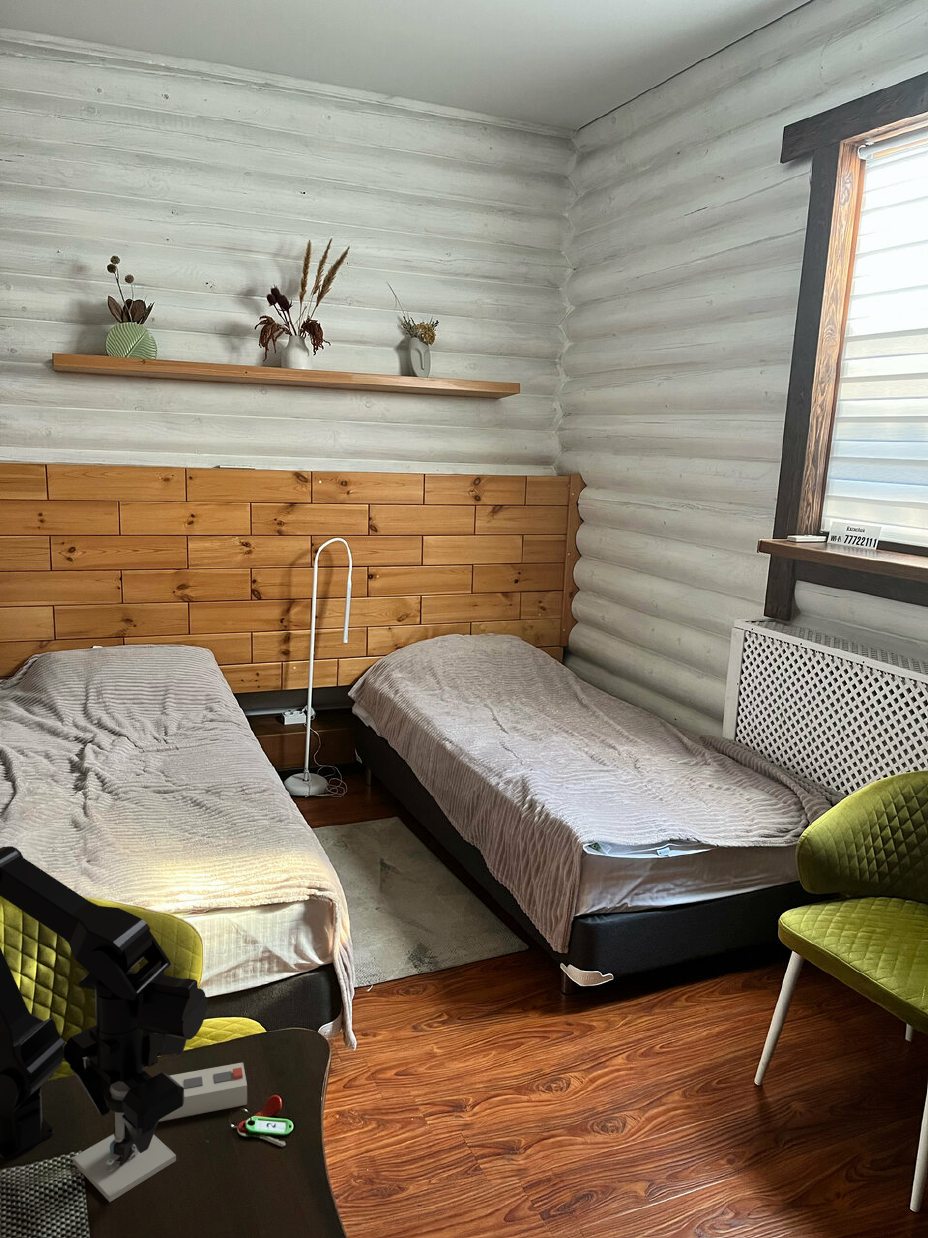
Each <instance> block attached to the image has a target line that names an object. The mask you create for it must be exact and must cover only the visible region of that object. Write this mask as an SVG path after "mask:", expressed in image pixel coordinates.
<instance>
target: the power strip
mask: <svg viewBox="0 0 928 1238" xmlns="http://www.w3.org/2000/svg"><path fill="white" fill-rule="evenodd" d="M244 1065H245V1064H244V1062H238V1063H231V1064H227V1065H221V1066H215V1067H209V1068H204V1069H199V1070H195V1071H194V1070H193V1071H187V1072H182V1073H177V1074H171V1075H169V1076H170V1077H171V1078H173V1079H174V1080H175V1081H176V1082H177V1083H179V1084H180V1085H181V1086H182V1087H183V1088H184V1104H183V1106H182V1107H180V1108H179V1109H177V1110H175V1111H173V1112H172V1113H170V1114H168V1115H166V1116H165V1117H163V1118H161V1119H160V1120H159V1122H164V1121H170V1120H175V1119H180V1118H185V1117H190V1116H195V1115H201V1114H205V1113H210V1112H216V1111H221V1110H226V1109H232V1108H237V1107H241V1106H246V1105H247V1106H248V1083H247V1077H246V1073H245V1072H246V1071H245V1066H244ZM159 1122H158V1123H159Z"/></svg>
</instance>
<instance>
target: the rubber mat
mask: <svg viewBox="0 0 928 1238" xmlns="http://www.w3.org/2000/svg"><path fill="white" fill-rule="evenodd" d="M114 1139H115V1137H114V1133H113V1134H111V1135H109V1136H107V1137H106V1138H104V1139H102V1140H101V1141H99V1142H97V1143H95V1144H93V1145H91V1146H90V1147H89V1148H87V1149H85V1150H84V1151H82V1152H79V1153H77V1154H76V1155H74V1156H72V1163H73V1164H74V1166H75V1167H76V1168H77V1169H78V1170H79V1171H80V1172H81V1173H82V1174H83V1175H84V1176H85V1177H86V1178H87V1180H88V1181H89V1182H90V1183H91V1184H93V1186H94V1187H95V1188H96V1189H97V1191H99V1192H100V1193H101V1195H102V1196H103V1197H104V1198H105V1199H106V1200H107V1201H108V1203H111V1202H112V1201H114V1200H115V1199H117V1198H119V1197H121V1196H122V1195H123V1194H125V1193H127V1192H128V1191H130V1190H133V1188H135V1187H136V1186H138V1185H139V1184H141V1183H143V1182H144V1181H146V1180H148V1179H149V1178H151V1177H153V1176H154V1175H156V1174H157V1173H158V1172H160V1171H162V1170H164V1169H165V1168H167V1167H168V1166H170V1165H171V1164H173V1163H175V1162H176V1161H177V1155H176V1153H174V1152H173V1151H172V1150H171V1149H170V1148H169V1147H168V1145H165V1143H163V1142H162V1141H161V1140H160V1139H159V1138H158V1137H157V1136H156V1135H155V1134H154V1135H153V1137H152V1140H151V1142H150V1145H149V1148H148V1149H147V1150H146V1151H144V1152H142V1153H140V1152H138V1154H137V1155H136V1156H135V1155H134V1153H133V1154H132V1155H131V1156H130V1158H129V1159H128V1160H127V1161H126V1162H125V1163H124V1165H120V1164H118V1166H115V1168H114V1169H113V1170H112V1171H111V1172H109V1171H106V1168H107V1167H108V1166H109V1165H107V1164H106V1162H107V1161H108V1160H109V1158H110V1144H111V1142H112V1141H114ZM137 1151H138V1149H137V1150H136V1152H137ZM109 1162H110V1161H109ZM111 1168H112V1167H109V1169H111Z"/></svg>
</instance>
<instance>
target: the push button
mask: <svg viewBox="0 0 928 1238" xmlns="http://www.w3.org/2000/svg"><path fill="white" fill-rule="evenodd" d="M129 1090H130V1088H129V1087H128V1086H127V1085H126V1084H125V1083H124V1082H120V1081H117V1082H115V1083H113V1084H111V1085H110V1084H108V1085H107V1086H106V1088H105V1090H104V1099H105V1101H106V1105H107V1108H109V1109H110V1111H112V1112H114V1129H113V1134H114V1137H115V1139H114V1141H112V1142H111V1144H110V1158H109V1160H108V1161H107V1162H106V1164H107V1165H109V1166H108V1167H107V1168H106V1171H109V1172H111V1171H112V1170H113V1169H114V1168H115V1166H118V1164H120V1165H124V1163H125V1162H126V1161H127V1160H128V1159H129V1158H130V1156H131V1155H132V1154H133V1153H134V1155H135V1156H136V1155H137V1154H138V1152H139V1151H137V1152H136V1150H137V1147H136V1146H135V1144H134V1141H133V1139H132V1137H131V1135H130V1133H129V1130H128V1128H127V1126H126V1124H125V1122H124V1120H123V1118H122V1115H124V1111H123V1109H122V1100H123V1099H124V1097H125V1096H126V1094H127V1092H128V1091H129ZM109 1161H110V1162H109ZM109 1167H112V1168H111V1169H109Z"/></svg>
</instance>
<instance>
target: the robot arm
mask: <svg viewBox="0 0 928 1238" xmlns="http://www.w3.org/2000/svg"><path fill="white" fill-rule="evenodd" d="M0 898H3V899H4V900H6V901H7V902H9V903H10V904H12V905H13V906H14V907H16V908H17V909H19V910H21V911H22V912H23V913H25V914H26V915H28V916H29V917H31V918H32V919H34V920H35V921H37V922H38V923H40V924H41V925H43V926H44V927H46V928H48V929H49V930H50V931H52V932H53V933H55V934H56V935H57V936H59V937H61V938H62V939H63V940H64V941H65V942H66V943H68V946H69V947H70V951H71V952H72V955H73V958H74V960H75V962H77V963H78V964H79V965H80V966H81V967H82V968H83V969H85V970H86V971H87V972H88V973H87V974H86V975H85V976H84V977H83V978H81V979H80V980H79V981H78V987H79V988H83V989H89V990H93V991H94V999H95V1002H94V1003H95V1025H94V1026H92V1027H89V1028H87V1029H85V1030H82V1031H80V1032H77V1034H73V1035H72V1036H70V1037H69V1039H68V1040H67V1042H65V1041H64V1039H63V1038H62V1037H61V1035H60V1034H59V1032H58V1028H57V1024H56V1022H55V1020H54V1019H53V1018H52V1017H51V1018H46V1019H45V1020H43V1019H42V1018H39V1017H38V1016H37V1015H34V1014H33V1013H31V1012H30V1010H29V1008H28V1006H27V1003H26V1002H25V1001H26V1000H24V997H23V995H22V993H21V991H20V988H19V986H18V984H17V982H16V979H15V977H14V974H13V973H12V970H11V968H10V966H9V963H8V961H7V959H6V956H5V955H4V952H3V949H2V947H1V946H0V1157H1V1159H2V1160H4V1161H5V1160H8V1159H10V1158H12V1157H14V1156H16V1155H18V1154H20V1153H21V1152H23V1151H25V1150H27V1149H29V1148H31V1147H32V1146H34V1145H35V1146H36V1144H38V1143H40V1142H42V1141H43V1140H46V1139H47V1138H49V1137H50V1136H53V1135H54V1133H55V1129H54V1128H53V1126H52V1125H50V1124H49V1123H48V1122H47V1121H46V1120H45V1118H44V1117H43V1105H42V1102H43V1101H42V1086H43V1085H44V1084H45V1083H46V1082H47V1081H48V1080H50V1079H52V1077H54V1075H55V1072H56V1071H57V1070H58V1069H59V1068H61V1066H62V1064H63V1061H66V1063H68V1064H69V1069H70V1070H71V1071H72V1072H73V1074H74V1075H75V1077H76V1078H77V1080H78V1081H79V1083H80V1084H81V1085H82V1088H83V1089H84V1090H85V1092H86V1094H87V1095H88V1097H89V1099H90V1101H92V1103H93V1105H94V1107H95V1108H96V1110H97V1112H98V1113H99V1115H101V1117H104V1116H106V1115H107V1114H109V1113H110V1112H111V1110H110V1109H109V1108H107V1105H106V1101H105V1099H104V1090H105V1088H106V1086H107V1085H108V1084H110V1085H111V1084H113V1083H115V1082H117V1081H120V1082H124V1083H125V1084H126V1085H127V1086H128V1087H129V1088H130V1090H129V1091H128V1092H127V1094H126V1096H125V1097H124V1099H123V1100H122V1109H123V1111H124V1115H122V1118H123V1120H124V1122H125V1124H126V1126H127V1128H128V1130H129V1133H130V1135H131V1137H132V1139H133V1141H134V1144H135V1146H136V1147H137V1149H138V1151H139V1152H140V1153H142V1152H144V1151H146V1150H147V1149H148V1148H149V1145H150V1142H151V1140H152V1137H153V1135H155V1132H156V1129H157V1127H158V1124H159V1120H160V1119H161V1118H163V1117H165V1116H166V1115H168V1114H170V1113H172V1112H173V1111H175V1110H177V1109H179V1108H180V1107H182V1106H183V1104H184V1088H183V1087H182V1086H181V1085H180V1084H179V1083H177V1082H176V1081H175V1080H174V1079H173V1078H171V1077H170V1075H169V1074H167V1073H165V1072H160V1073H158V1074H156V1075H153V1076H151V1075H150V1074H149V1073H148V1072H146V1071H145V1067H146V1068H147V1067H148V1068H151V1067H153V1066H154V1065H157V1064H158V1061H159V1059H158V1057H165V1056H171V1055H176V1056H180V1055H183V1054H184V1051H185V1047H186V1044H187V1040H189V1041H190V1040H193V1038H195V1037H196V1035H198V1033H199V1031H200V1030H201V1028H202V1026H203V1023H204V1021H205V1018H206V1013H207V1009H208V997H207V996H206V992H205V991H204V989H202V988H199V987H198V984H199V983H198V981H197V980H196V979H193V978H187V977H186V978H180V977H174V976H170V975H165V972H166V971H167V970H168V969H169V968H170V967H171V966H172V963H171V961H170V959H169V957H167V955H166V953H165V950H164V949H163V948H162V947H161V946H160V944H159V942H158V941H157V940H156V938H155V936H154V935H153V933H152V932H151V927H150V926H149V925H148V923H147V922H146V921H145V920H144V919H142V918H141V917H139V916H137V915H134V914H133V913H130V912H129V911H127V910H125V909H122V908H120V907H114V906H103V905H98V904H95V903H94V902H91V901H90V900H88V899H86V898H85V897H83V895H81V894H79V893H77V892H76V891H75V890H73V889H72V888H71V887H68V886H67V885H65V884H64V883H62V882H61V881H59V880H58V879H56V878H55V877H54V876H52V875H51V874H49V873H48V872H46V871H44V870H43V869H41V868H40V867H38V866H37V865H36V864H33V863H32V862H31V861H29V860H28V859H26V858H25V857H24V855H23V854H22V852H21V851H20V850H19V849H18V848H17V847H15V846H11V845H9V846H8V845H7V846H1V847H0ZM143 959H145V961H147V963H145V965H143V966H142V967H141V968H140V969H139V970H138V971H137V972H135V971H133V970H132V969H133V968H134V967H135V966H137V964H139V963H140V962H141V961H142V960H143Z"/></svg>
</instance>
